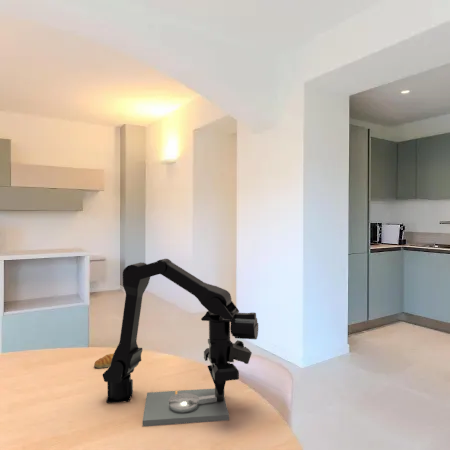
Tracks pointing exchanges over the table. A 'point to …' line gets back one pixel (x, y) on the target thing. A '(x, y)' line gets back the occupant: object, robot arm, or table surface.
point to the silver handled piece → (191, 401)
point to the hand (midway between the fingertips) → (220, 394)
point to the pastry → (104, 361)
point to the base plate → (163, 415)
